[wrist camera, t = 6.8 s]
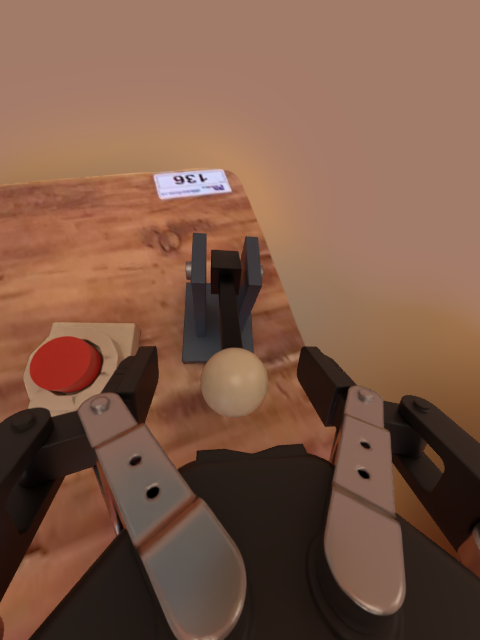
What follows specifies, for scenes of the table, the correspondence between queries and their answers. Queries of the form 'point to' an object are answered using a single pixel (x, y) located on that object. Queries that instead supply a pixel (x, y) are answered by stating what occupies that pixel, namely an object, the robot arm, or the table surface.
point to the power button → (65, 364)
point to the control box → (112, 348)
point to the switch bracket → (217, 302)
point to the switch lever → (231, 348)
